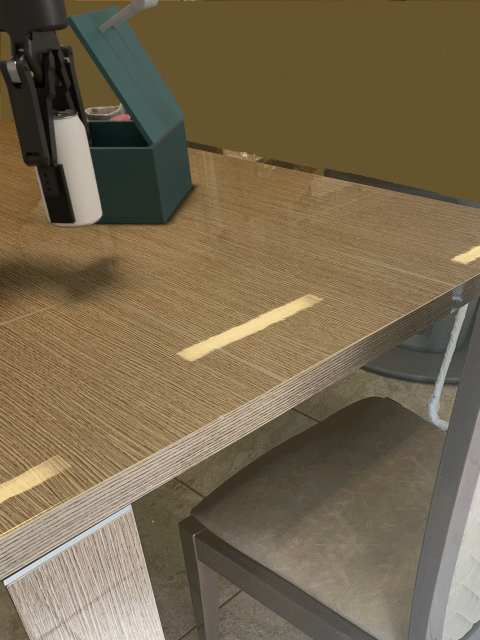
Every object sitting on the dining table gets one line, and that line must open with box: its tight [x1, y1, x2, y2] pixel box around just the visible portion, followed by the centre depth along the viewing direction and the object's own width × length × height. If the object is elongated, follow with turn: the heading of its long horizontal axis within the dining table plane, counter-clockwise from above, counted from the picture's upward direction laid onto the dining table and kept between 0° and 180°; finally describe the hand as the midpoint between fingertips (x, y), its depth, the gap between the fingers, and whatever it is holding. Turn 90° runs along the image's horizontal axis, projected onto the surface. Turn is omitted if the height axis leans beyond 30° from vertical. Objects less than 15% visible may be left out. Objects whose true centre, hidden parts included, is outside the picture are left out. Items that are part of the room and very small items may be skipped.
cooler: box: [87, 119, 193, 225], centre depth 104 cm, size 17×20×11 cm
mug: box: [84, 101, 129, 120], centre depth 140 cm, size 10×12×10 cm
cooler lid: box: [67, 0, 186, 146], centre depth 95 cm, size 18×20×9 cm
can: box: [33, 109, 102, 229], centre depth 76 cm, size 6×6×12 cm
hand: (74, 211), depth 79 cm, fingers closed on can, 6 cm apart
